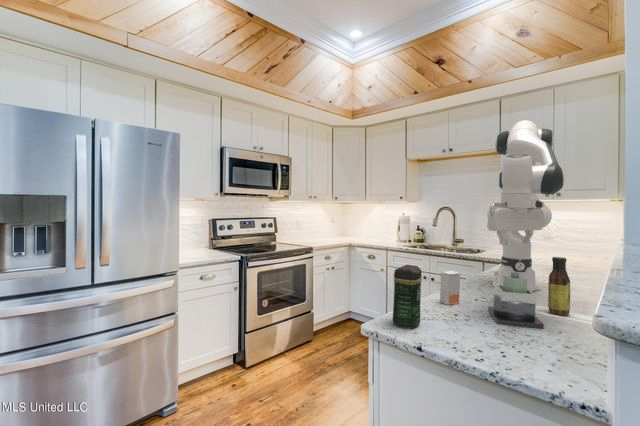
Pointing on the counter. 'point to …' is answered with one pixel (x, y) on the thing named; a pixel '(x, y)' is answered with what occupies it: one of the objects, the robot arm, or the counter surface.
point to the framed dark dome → (515, 308)
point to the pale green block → (514, 283)
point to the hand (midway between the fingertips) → (514, 244)
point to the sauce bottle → (559, 288)
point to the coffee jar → (407, 296)
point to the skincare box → (449, 287)
